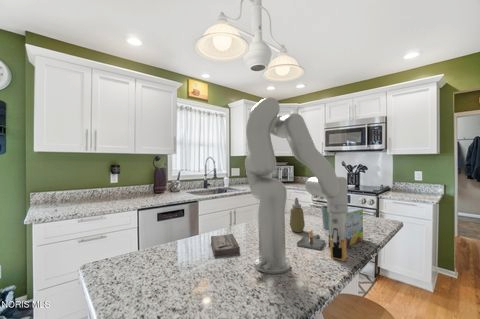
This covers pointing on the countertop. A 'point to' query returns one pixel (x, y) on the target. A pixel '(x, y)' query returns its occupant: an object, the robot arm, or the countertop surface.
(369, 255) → the countertop surface
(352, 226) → the snack box
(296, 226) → the squeeze bottle
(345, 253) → the cube with dome knob
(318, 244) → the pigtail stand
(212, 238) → the box
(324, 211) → the green cup
